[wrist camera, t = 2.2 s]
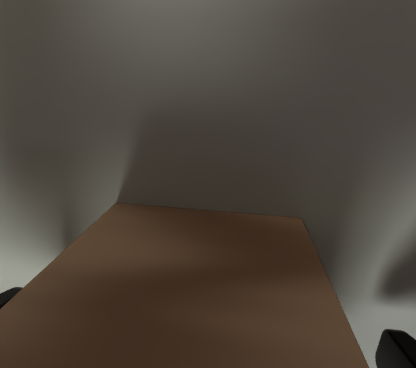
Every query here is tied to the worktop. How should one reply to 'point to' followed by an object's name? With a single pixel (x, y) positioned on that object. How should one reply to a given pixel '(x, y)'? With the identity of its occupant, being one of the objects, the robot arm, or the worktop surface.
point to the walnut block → (181, 297)
